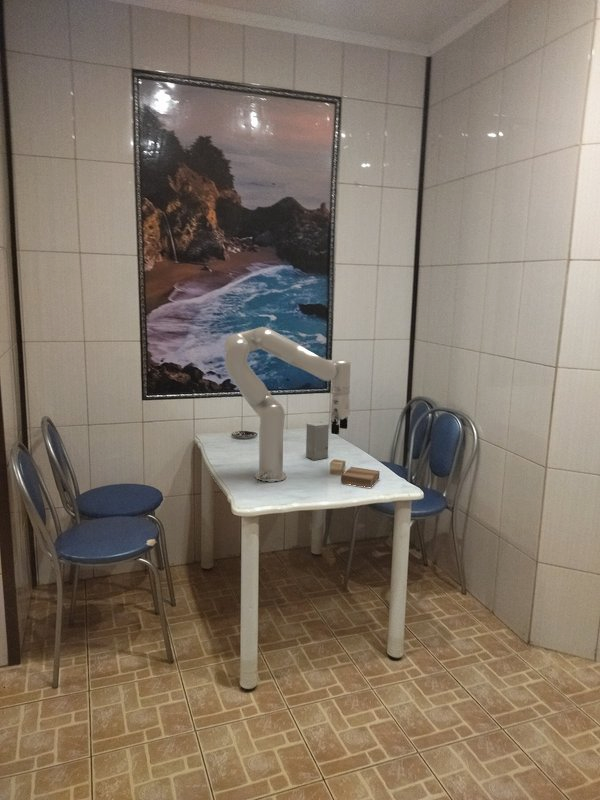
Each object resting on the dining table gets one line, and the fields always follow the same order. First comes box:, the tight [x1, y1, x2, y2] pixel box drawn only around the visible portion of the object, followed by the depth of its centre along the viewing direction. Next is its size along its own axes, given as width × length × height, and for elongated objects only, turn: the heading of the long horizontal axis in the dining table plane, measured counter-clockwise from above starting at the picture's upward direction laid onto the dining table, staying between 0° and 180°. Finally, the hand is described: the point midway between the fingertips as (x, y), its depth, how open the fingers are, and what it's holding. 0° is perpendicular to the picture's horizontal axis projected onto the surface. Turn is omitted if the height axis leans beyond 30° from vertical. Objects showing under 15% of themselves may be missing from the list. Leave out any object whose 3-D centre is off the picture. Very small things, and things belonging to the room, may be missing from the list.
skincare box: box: [305, 421, 330, 461], centre depth 265 cm, size 8×7×16 cm
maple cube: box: [329, 458, 347, 476], centre depth 246 cm, size 5×5×5 cm
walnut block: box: [340, 466, 380, 488], centre depth 236 cm, size 12×12×4 cm
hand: (339, 431), depth 243 cm, fingers open, 9 cm apart
